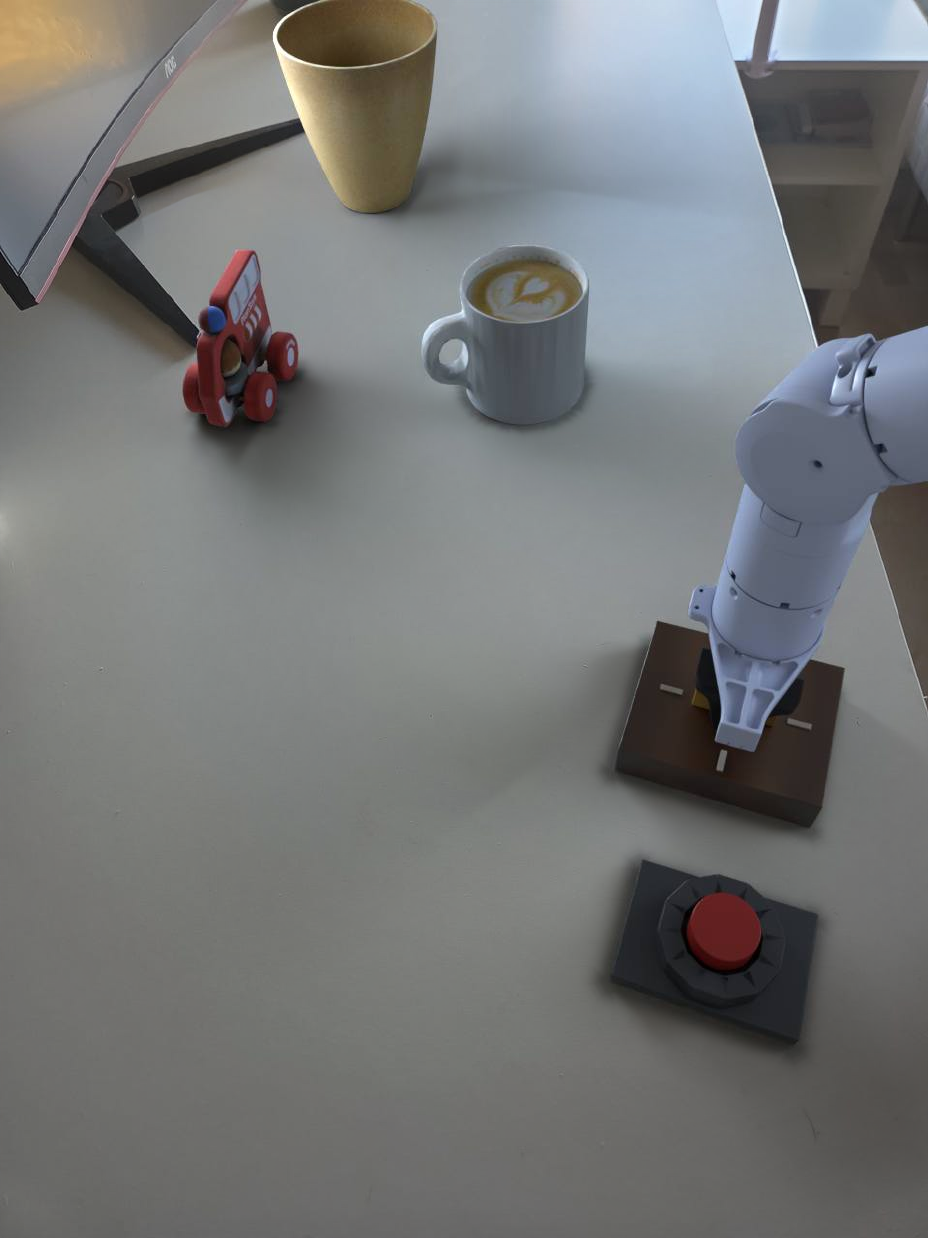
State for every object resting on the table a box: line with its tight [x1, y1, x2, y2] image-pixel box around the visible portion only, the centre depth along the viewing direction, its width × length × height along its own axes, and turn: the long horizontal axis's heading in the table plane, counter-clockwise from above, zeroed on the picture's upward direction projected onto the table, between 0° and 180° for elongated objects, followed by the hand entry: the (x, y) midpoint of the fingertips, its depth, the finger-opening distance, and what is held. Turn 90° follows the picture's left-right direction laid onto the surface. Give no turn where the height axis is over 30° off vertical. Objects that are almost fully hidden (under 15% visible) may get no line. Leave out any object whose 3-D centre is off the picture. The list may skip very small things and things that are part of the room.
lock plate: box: [614, 620, 846, 829], centre depth 60 cm, size 12×10×3 cm
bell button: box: [687, 893, 761, 971], centre depth 51 cm, size 4×4×2 cm
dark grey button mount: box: [609, 858, 819, 1046], centre depth 52 cm, size 10×7×3 cm
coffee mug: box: [420, 244, 590, 426], centre depth 77 cm, size 13×10×10 cm
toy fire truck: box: [182, 248, 299, 428], centre depth 79 cm, size 7×12×10 cm, turn 166°
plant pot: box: [272, 0, 439, 214], centre depth 93 cm, size 15×15×16 cm
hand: (735, 703), depth 59 cm, fingers open, 3 cm apart
